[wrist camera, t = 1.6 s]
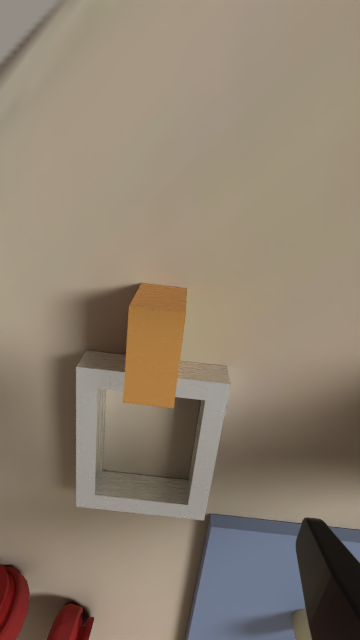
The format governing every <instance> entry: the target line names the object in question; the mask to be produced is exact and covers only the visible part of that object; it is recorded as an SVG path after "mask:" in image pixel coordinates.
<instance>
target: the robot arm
mask: <svg viewBox="0 0 360 640" xmlns="http://www.w3.org/2000/svg"><path fill="white" fill-rule="evenodd" d="M296 555H297V561H298V566H299V572H300V578H301V584H302V590H303V596H304V602H305V608H306V614H307V619H308V624H309V629H310V633H311V638H312V640H360V562H359V561H358V560H357V559H356V558H355V557H354V556H353V554H352V553H351V552H350V551H349V550H348V549H347V547H346V546H345V545H344V544H343V543H342V542H341V541H340V539H339V538H338V537H337V536H336V535H335V534H334V533H333V531H332V530H331V529H330V528H329V527H328V526H327V524H326V523H325V522H324V521H322V520H321V519H317V518H304V519H303V521H302V524H301V527H300V530H299V533H298V535H297V538H296Z"/></svg>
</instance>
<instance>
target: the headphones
mask: <svg viewBox="0 0 360 640" xmlns="http://www.w3.org/2000/svg"><path fill="white" fill-rule="evenodd" d="M29 595H30V594H29V587H28V584H27V581H26V579H25V578H24V577H23V576H22V575H21V574H20V573H19V572H18V571H17V570H16V569H15V568H14V567H11V566H2V565H0V640H16V638H17V636H18V634H19V633H20V631H21V628H22V626H23V623H24V620H25V618H26V614H27V611H28V605H29ZM82 614H83V608H82V606H78V605H74V604H67V605H65V606H64V607H63V608H62V609H61V610H60V611H59V613H58V615H57V617H56V619H55V621H54V623H53V625H52V628H51V630H50V633H49V636H48V638H47V640H89V636H90V632H91V629H92V625H93V621H94V617H90V618H89V619H88V620H87V621H86V624H85V626H83V620H82Z"/></svg>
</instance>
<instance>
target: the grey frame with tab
mask: <svg viewBox="0 0 360 640" xmlns="http://www.w3.org/2000/svg"><path fill="white" fill-rule="evenodd" d="M186 296H187V288H179V287H171V286H162V285H154V284H145V283H141V285H140V287H139V289H138V290H137V292H136V294H135V296H134V298H133V300H132V302H131V303H130V305H129V313H128V329H127V346H126V355H123V354H115V353H106V352H97V351H88V350H87V351H86V352H85V354H84V355H83V357H82V359H81V360H80V362H79V363H78V365H77V366H76V507H84V508H93V509H103V510H112V511H121V512H130V513H140V514H149V515H158V516H167V517H177V518H186V519H195V520H204V518H205V513H206V508H207V503H208V498H209V492H210V487H211V482H212V477H213V472H214V467H215V462H216V456H217V451H218V446H219V441H220V436H221V431H222V426H223V420H224V415H225V410H226V405H227V400H228V395H229V390H230V379H229V375H228V370H227V366H220V365H211V364H202V363H193V362H185V361H180V355H181V347H182V339H183V332H184V324H185V316H186ZM106 389H109V390H118V391H124V395H123V403H132V404H141V405H149V406H158V407H167V408H174V403H175V397H180V398H188V399H197V400H201V404H200V410H199V416H198V422H197V429H196V435H195V441H194V447H193V454H192V460H191V466H190V472H189V479H188V480H184V479H174V478H165V477H156V476H147V475H138V474H129V473H120V472H111V471H103V445H104V418H105V391H106Z"/></svg>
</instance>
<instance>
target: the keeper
mask: <svg viewBox="0 0 360 640" xmlns="http://www.w3.org/2000/svg"><path fill="white" fill-rule="evenodd" d="M300 527H301V524H298V523H289V522H280V521H270V520H261V519H252V518H243V517H233V516H224V515H215V514H210V519H209V524H208V529H207V534H206V539H205V544H204V549H203V554H202V559H201V563H200V568H199V573H198V578H197V583H196V588H195V593H194V598H193V603H192V608H191V613H190V618H189V623H188V628H187V633H186V638H185V640H312V638H311V633H310V629H309V624H308V619H307V614H306V608H305V602H304V596H303V590H302V584H301V578H300V572H299V566H298V561H297V555H296V538H297V535H298V533H299V530H300ZM329 528H330V529H331V530H332V531H333V533H334V534H335V535H336V536H337V537H338V538H339V539H340V541H341V542H342V543H343V544H344V545H345V546H346V547H347V549H348V550H349V551H350V552H351V553H352V554H353V556H354V557H355V558H356V559H357V560H358V561H359V562H360V530H353V529H344V528H335V527H329Z"/></svg>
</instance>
